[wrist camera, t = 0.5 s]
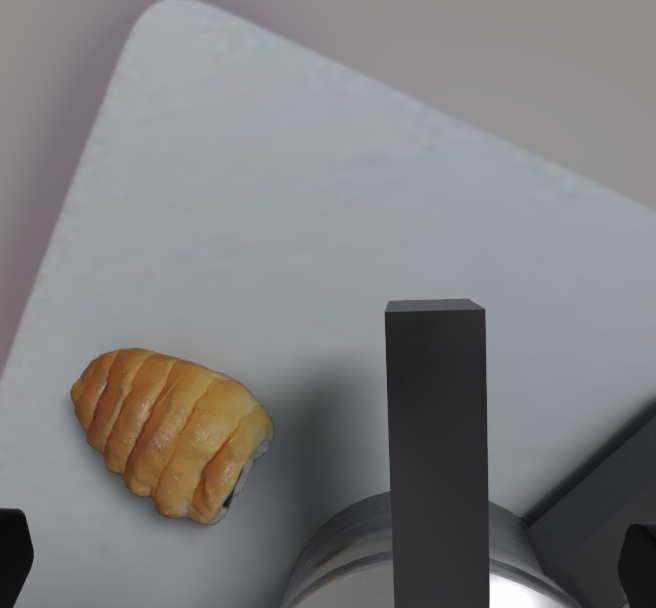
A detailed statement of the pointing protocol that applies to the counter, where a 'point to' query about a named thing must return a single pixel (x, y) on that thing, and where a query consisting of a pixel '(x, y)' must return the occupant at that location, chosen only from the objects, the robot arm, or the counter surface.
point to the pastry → (172, 430)
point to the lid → (435, 477)
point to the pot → (524, 530)
